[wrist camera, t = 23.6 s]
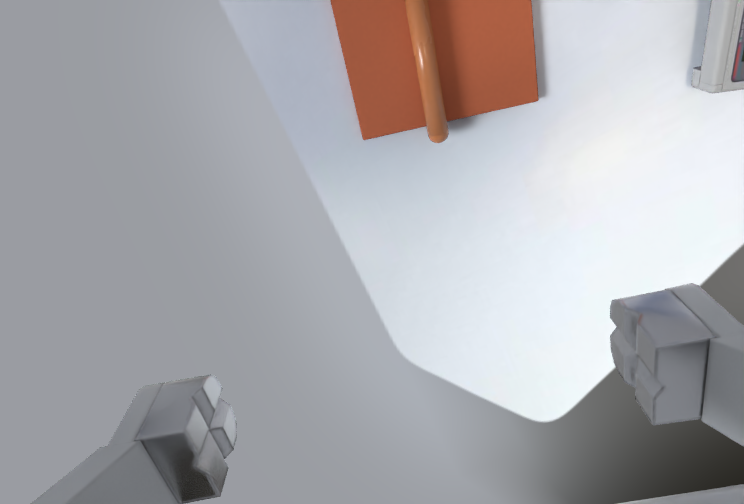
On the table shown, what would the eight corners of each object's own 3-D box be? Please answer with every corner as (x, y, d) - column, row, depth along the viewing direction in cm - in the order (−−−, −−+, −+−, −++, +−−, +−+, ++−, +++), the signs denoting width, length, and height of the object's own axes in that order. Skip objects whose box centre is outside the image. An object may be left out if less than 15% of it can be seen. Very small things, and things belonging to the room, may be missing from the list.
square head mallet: (409, 146, 42) (410, 152, 40) (348, -164, 32) (348, -171, 31) (468, 133, 41) (472, 139, 40) (423, -185, 32) (427, -193, 30)
